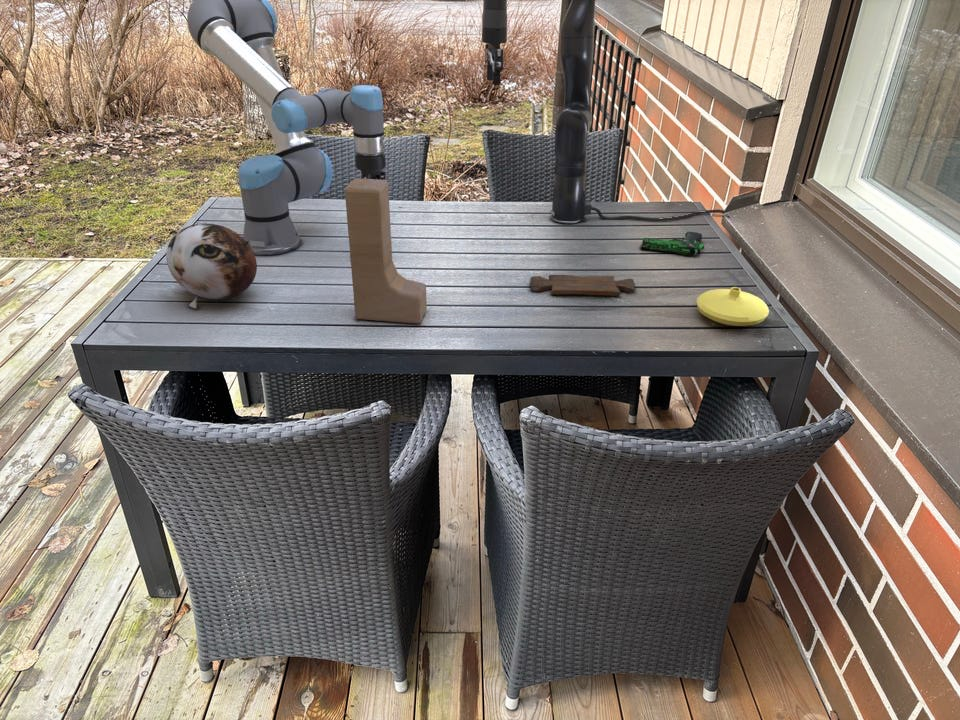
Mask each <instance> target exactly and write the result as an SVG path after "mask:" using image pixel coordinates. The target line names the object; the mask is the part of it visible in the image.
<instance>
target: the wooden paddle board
mask: <svg viewBox="0 0 960 720" xmlns="http://www.w3.org/2000/svg"><path fill="white" fill-rule="evenodd" d="M529 278H530V285H529V286H530V291H531V292H542V291H547V290H551V294H552V295H556V296H557V295H558V296H559V295H560V296H562V295H588V296H589V295H592V296H612V297H613V296H614V297H615V296H619V295H621V291H623V292H627V293H634V290H635V282H634V279H633V278H625V279H619V280H618V279H617V280H615V276H614V275H573V274H572V275H570V274H549V275H548V279H547V278H546V277H543V276H540V275H534V276H530V277H529Z"/></svg>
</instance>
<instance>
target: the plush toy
mask: <svg viewBox="0 0 960 720" xmlns="http://www.w3.org/2000/svg"><path fill="white" fill-rule="evenodd" d="M177 232H178V233H177V234H174V235H173V237H171V239H170V241H169V243H168V245H167V248H166V254H165V260H166V265H167V268H168V271H169V273H170V275H171V276H172V277H173V279H174V280H175V281H176V282H177V284H178V285H180V286H181V287H182V288H183V289H185V290H186V291H187V292H189V293H191V294H194V295H195V298H194V299H193V300H192V302H190V303H189V304H188V306H189V307H191V308H192V309H197V308H198V307H197V298H198V297H201V298H205V299H210V300H226V299H230V298H233V297H236V296H238V295H241V294H242V293H244V292H245V291H247V290H248V289H249V288H250V286H251V285H252V284H253V282H254V280H255V278H256V275H257V271H258V262H257V257H256V254H254V252H253V250H252V248H251V247H250V245H249V244H248V242H249V241H246V240H245V239H244V238H243V237H241V236H242V235H240V234H239V233H238V232H236V231H234V230H233V229H231V228H229V227H226V226H223V225H220V224H215V223H205V222H204V223H195V224H191V225H188V226H186V227H183V228H182V229H180V230H179V231H177Z"/></svg>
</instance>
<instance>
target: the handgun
mask: <svg viewBox="0 0 960 720" xmlns="http://www.w3.org/2000/svg"><path fill="white" fill-rule="evenodd" d="M684 236H685V237H682V238H681V239H680V238H672V239H660V238H651V237H643V238H642V241H641V247H640V248H641V249H642V250H651V251H659V252H667V253H674V254H675V253H676V254H679V255H684V256H690V257H695V256H697V253H701V252H702V251H703V250H704V249H705V245H704V244H703V243H701V242H702V239H703V234H702V233H700V232H697V231H686V233H685V235H684ZM698 242H699V243H698Z"/></svg>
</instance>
